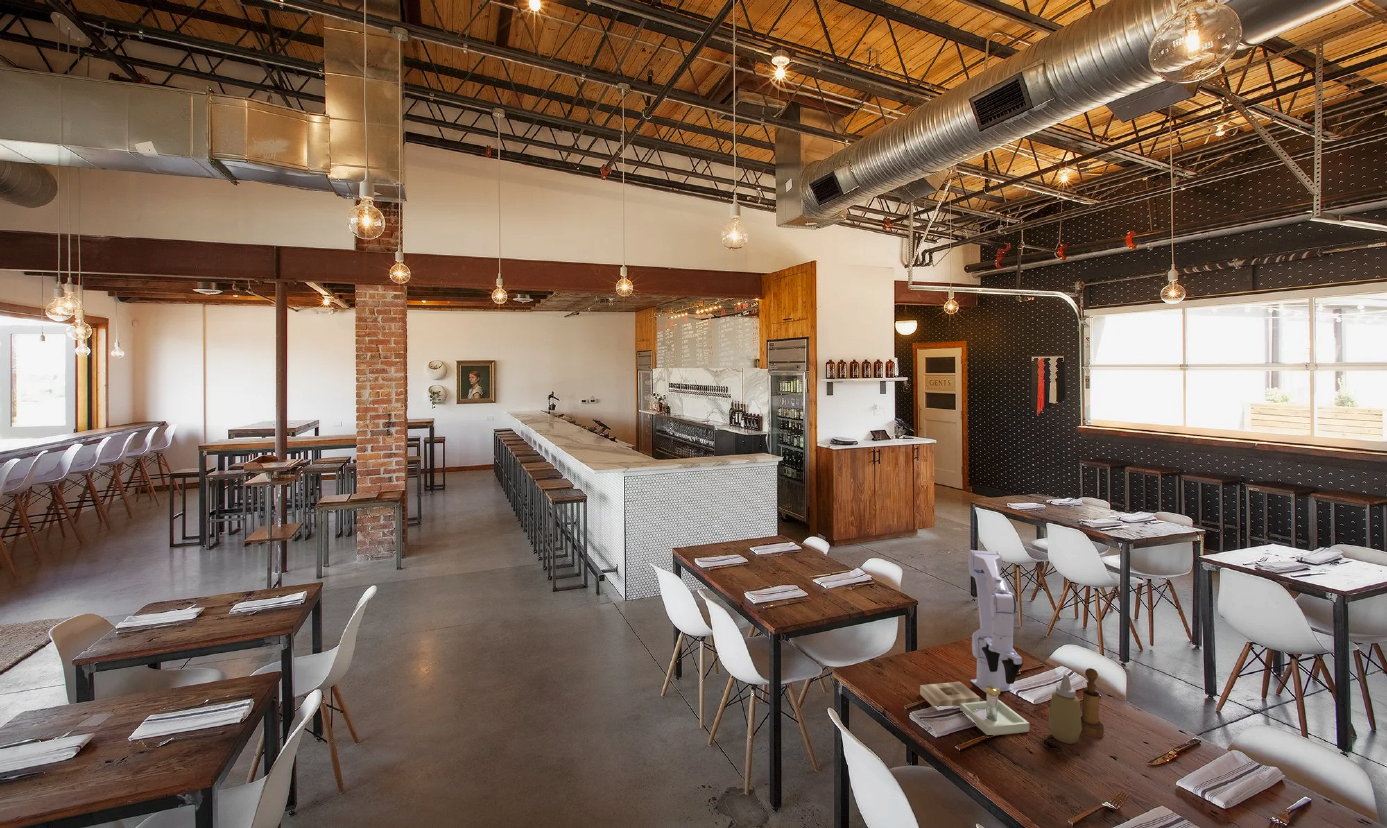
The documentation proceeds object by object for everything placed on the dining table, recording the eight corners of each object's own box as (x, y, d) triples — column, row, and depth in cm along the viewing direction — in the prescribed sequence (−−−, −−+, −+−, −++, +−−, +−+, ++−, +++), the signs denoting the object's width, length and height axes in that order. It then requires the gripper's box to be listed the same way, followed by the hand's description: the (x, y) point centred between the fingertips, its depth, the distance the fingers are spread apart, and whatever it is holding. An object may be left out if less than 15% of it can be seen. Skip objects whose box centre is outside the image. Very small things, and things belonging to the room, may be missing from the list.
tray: (998, 707, 185) (999, 699, 185) (1029, 731, 172) (1029, 723, 172) (960, 711, 183) (960, 703, 183) (988, 735, 170) (988, 727, 170)
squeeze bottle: (1048, 741, 167) (1050, 678, 166) (1047, 727, 174) (1048, 666, 174) (1083, 749, 163) (1084, 684, 163) (1080, 734, 171) (1081, 672, 170)
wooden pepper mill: (1108, 738, 169) (1109, 675, 168) (1082, 736, 170) (1084, 673, 169) (1097, 725, 175) (1099, 664, 174) (1072, 723, 176) (1074, 662, 176)
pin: (993, 713, 180) (994, 685, 180) (1002, 721, 176) (1003, 691, 176) (981, 714, 180) (982, 686, 179) (989, 722, 176) (990, 692, 175)
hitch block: (959, 690, 195) (960, 681, 195) (979, 706, 186) (979, 697, 185) (920, 694, 193) (920, 685, 193) (937, 710, 183) (937, 701, 183)
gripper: (975, 624, 189) (974, 667, 189) (1006, 643, 174) (1005, 689, 175) (995, 623, 190) (994, 665, 190) (1028, 642, 176) (1027, 687, 176)
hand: (1001, 677), depth 183 cm, fingers open, 7 cm apart
